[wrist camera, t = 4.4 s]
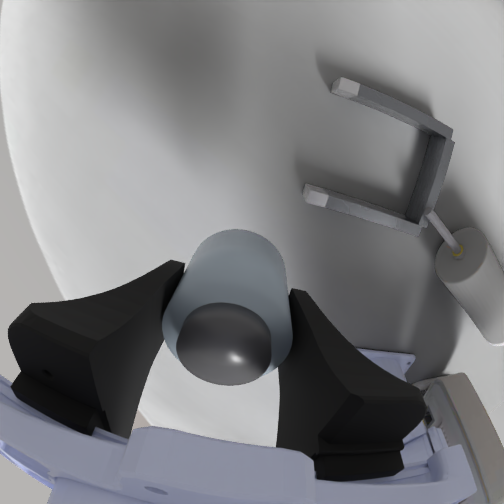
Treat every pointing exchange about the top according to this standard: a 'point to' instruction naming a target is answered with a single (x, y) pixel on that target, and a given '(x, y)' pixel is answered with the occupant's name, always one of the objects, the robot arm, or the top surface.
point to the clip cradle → (428, 176)
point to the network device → (467, 432)
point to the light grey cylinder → (231, 310)
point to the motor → (472, 277)
